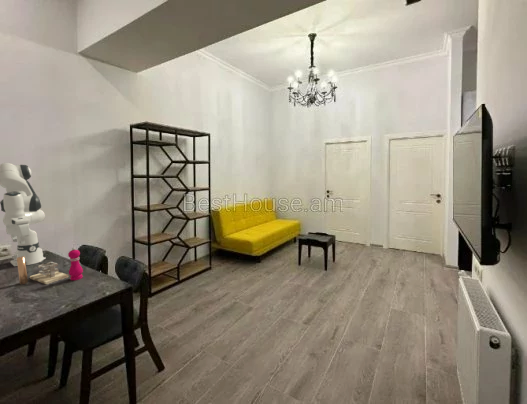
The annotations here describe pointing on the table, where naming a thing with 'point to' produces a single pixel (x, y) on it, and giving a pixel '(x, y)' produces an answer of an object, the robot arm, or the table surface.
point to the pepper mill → (75, 265)
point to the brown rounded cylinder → (22, 270)
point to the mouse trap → (48, 273)
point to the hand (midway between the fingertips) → (18, 242)
